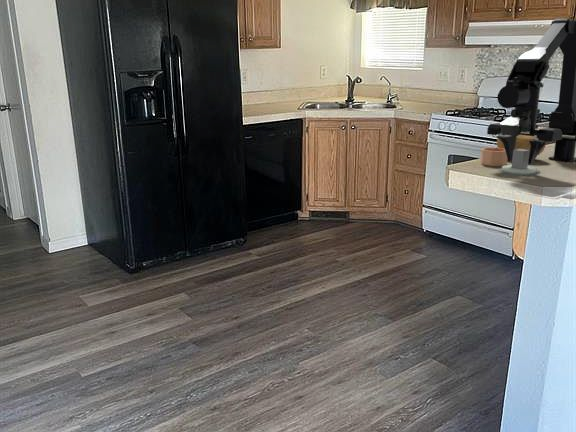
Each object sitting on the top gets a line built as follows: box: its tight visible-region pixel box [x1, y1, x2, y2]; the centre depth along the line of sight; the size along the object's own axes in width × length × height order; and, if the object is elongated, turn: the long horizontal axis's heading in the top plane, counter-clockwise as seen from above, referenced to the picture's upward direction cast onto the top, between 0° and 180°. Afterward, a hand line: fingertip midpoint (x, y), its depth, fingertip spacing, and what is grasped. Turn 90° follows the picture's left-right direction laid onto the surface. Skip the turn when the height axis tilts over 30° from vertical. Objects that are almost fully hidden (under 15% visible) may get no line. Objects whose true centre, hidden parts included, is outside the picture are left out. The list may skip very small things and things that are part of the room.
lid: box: [501, 149, 538, 175], centre depth 152 cm, size 9×9×6 cm
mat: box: [497, 167, 542, 176], centre depth 153 cm, size 11×11×1 cm
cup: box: [479, 146, 508, 167], centre depth 163 cm, size 7×7×4 cm
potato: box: [496, 135, 546, 161], centre depth 169 cm, size 10×14×8 cm
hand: (519, 163), depth 152 cm, fingers open, 6 cm apart
